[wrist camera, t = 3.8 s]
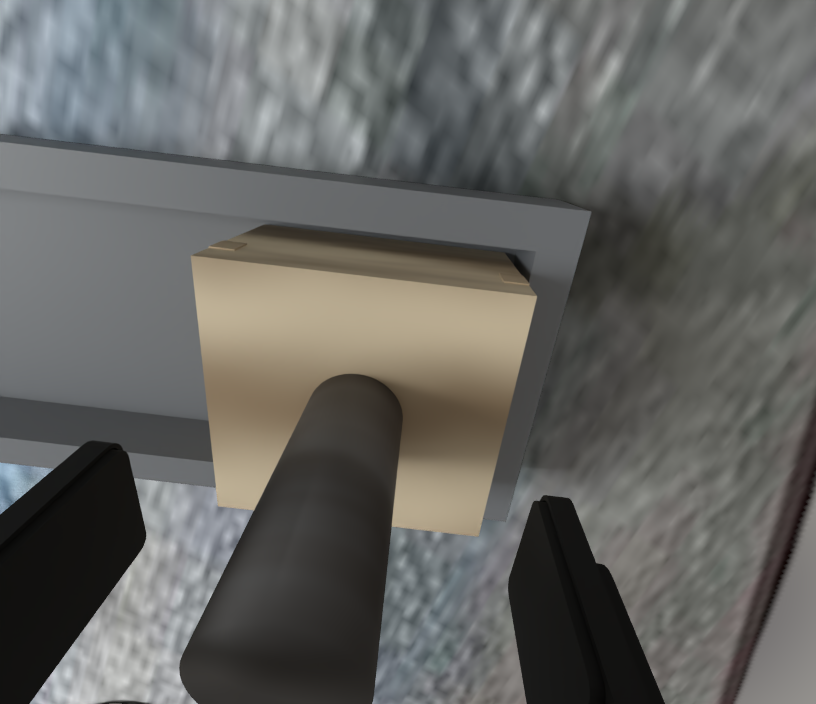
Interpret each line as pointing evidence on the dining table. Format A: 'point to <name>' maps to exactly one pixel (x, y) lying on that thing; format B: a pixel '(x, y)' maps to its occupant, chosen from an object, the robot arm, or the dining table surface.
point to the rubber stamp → (340, 440)
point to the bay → (175, 296)
